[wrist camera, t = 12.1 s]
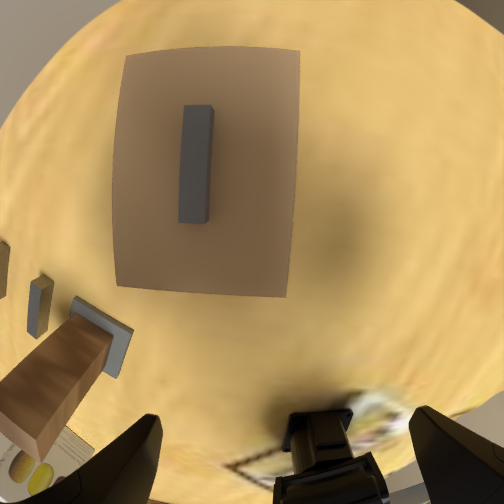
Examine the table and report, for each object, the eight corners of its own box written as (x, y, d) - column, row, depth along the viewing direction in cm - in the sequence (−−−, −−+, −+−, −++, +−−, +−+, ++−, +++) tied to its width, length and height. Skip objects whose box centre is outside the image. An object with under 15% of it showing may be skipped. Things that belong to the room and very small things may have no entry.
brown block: (114, 335, 21) (35, 440, 8) (105, 366, 21) (41, 464, 9) (76, 312, 20) (-15, 397, 8) (70, 344, 21) (-4, 427, 9)
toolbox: (272, 252, 20) (288, 307, 11) (165, 246, 19) (107, 293, 11) (281, 100, 17) (303, 40, 8) (171, 99, 17) (117, 47, 8)
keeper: (54, 282, 20) (41, 289, 18) (47, 330, 21) (36, 339, 19) (2, 241, 19) (-11, 245, 17) (-2, 289, 20) (-13, 295, 19)
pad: (133, 330, 21) (131, 334, 21) (118, 375, 22) (116, 379, 22) (76, 295, 20) (73, 298, 20) (67, 343, 22) (64, 346, 21)
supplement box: (97, 450, 26) (57, 538, 10) (73, 458, 28) (38, 529, 11) (43, 404, 24) (-14, 486, 8) (28, 418, 26) (-19, 485, 9)
